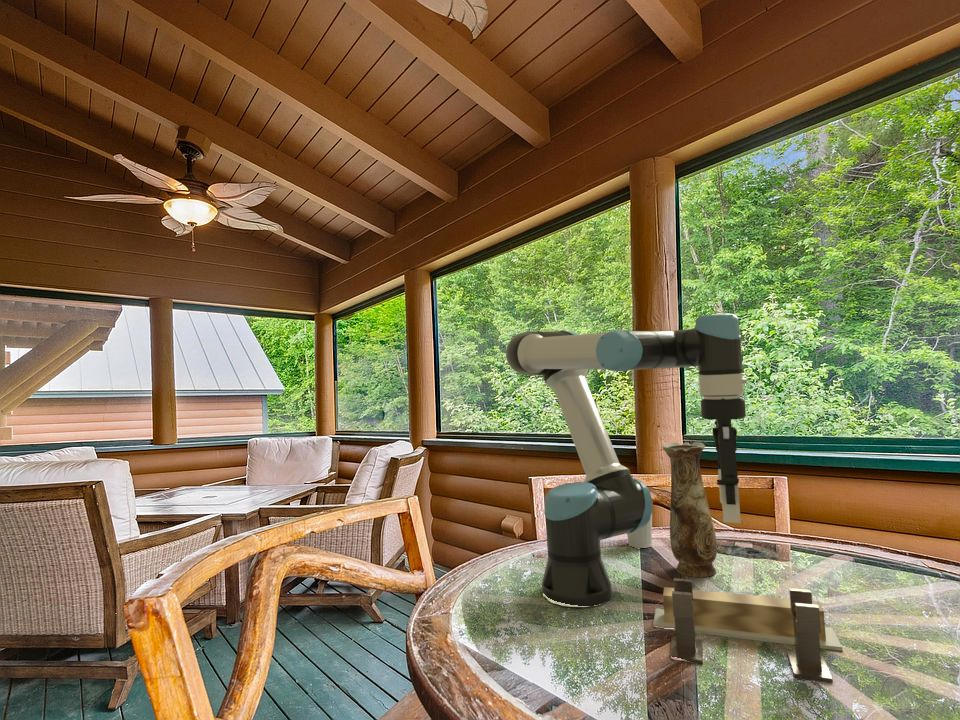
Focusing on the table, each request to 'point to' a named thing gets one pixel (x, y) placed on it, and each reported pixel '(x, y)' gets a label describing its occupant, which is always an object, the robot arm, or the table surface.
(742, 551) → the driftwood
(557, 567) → the robot arm
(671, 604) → the rail
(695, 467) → the vase
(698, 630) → the cream flat board
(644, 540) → the cup
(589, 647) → the table surface
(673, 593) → the standard left
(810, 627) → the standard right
